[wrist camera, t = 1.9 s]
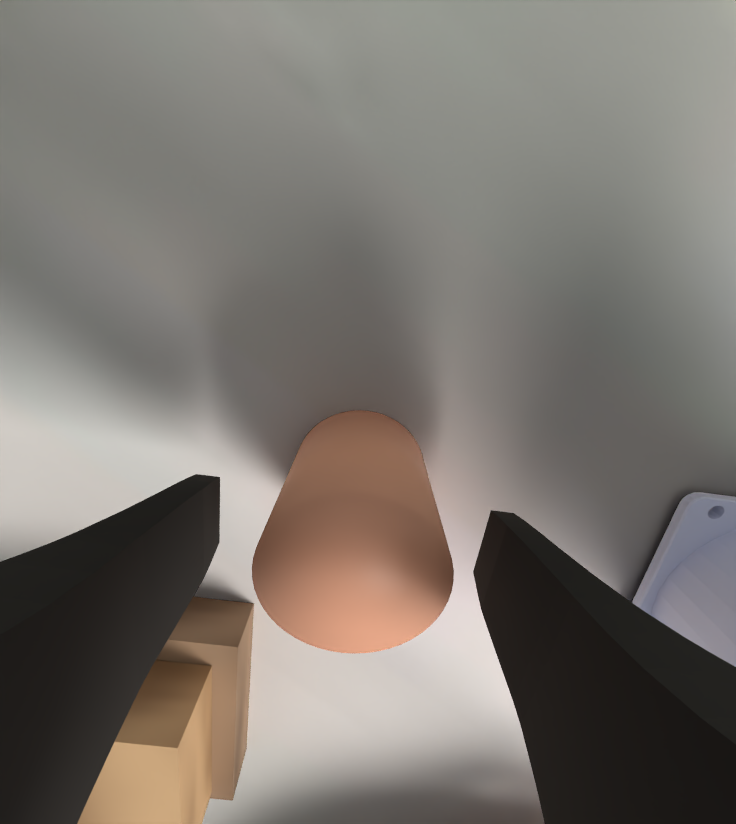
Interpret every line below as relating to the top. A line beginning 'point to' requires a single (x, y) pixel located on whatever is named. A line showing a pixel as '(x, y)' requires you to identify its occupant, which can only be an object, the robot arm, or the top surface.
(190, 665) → the top block
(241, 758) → the bottom block
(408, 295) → the top surface
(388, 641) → the peach capsule
